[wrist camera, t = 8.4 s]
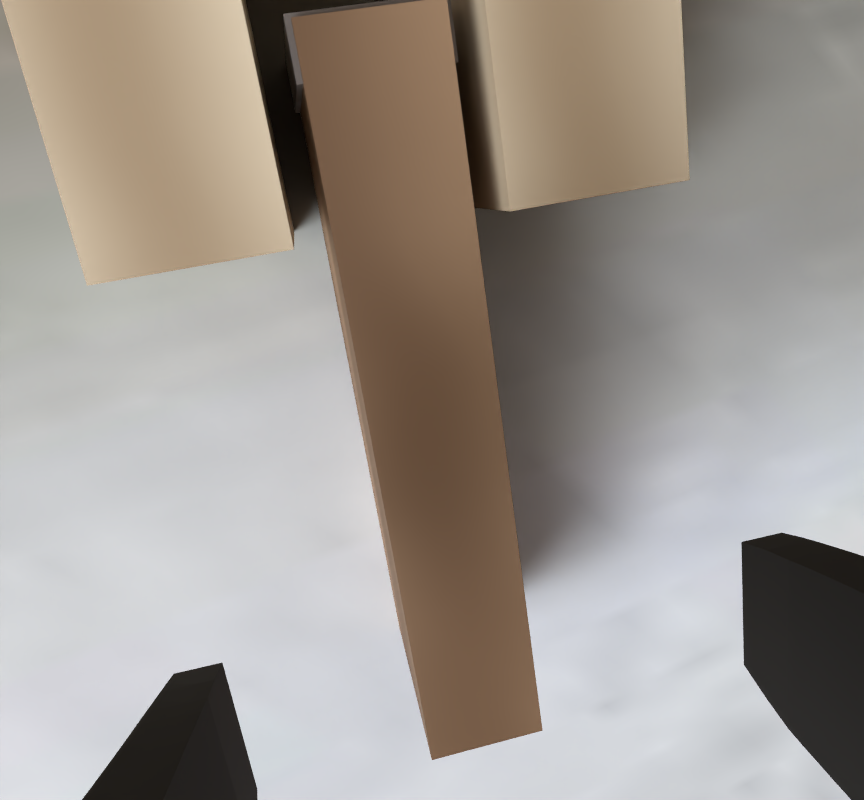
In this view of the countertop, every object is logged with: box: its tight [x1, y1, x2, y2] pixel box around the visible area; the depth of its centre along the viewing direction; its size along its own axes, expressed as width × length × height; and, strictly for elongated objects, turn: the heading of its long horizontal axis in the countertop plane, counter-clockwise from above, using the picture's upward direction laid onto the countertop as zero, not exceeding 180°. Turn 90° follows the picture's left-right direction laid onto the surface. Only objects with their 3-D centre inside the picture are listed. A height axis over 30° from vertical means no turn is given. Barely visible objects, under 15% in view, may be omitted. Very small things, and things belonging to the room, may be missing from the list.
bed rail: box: [283, 0, 542, 760], centre depth 16 cm, size 3×14×5 cm, turn 9°
